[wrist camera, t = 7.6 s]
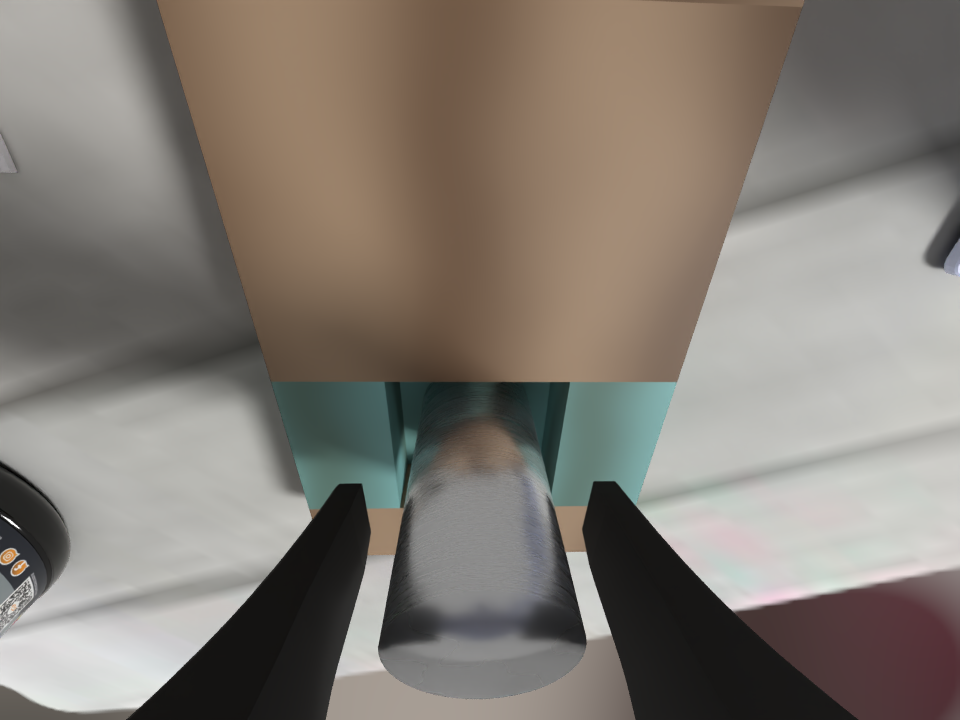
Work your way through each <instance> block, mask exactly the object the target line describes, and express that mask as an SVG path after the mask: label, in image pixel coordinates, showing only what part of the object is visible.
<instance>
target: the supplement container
mask: <svg viewBox="0 0 960 720" xmlns="http://www.w3.org/2000/svg"><path fill="white" fill-rule="evenodd" d="M69 556H70V539H69V536H68V532H67V529H66V527H65V525H64V523H63V521H62V519H61V518H60V516H59V514H58V513H57V512H56V510H55V509H54V508H53V507H52V505H51V504H50V503H49V502H48V501H47V500H46V499H45V498H44V497H43V496H42V495H41V494H40V493H39V492H38V491H36V490H35V489H34V488H33V487H31V486H30V485H29V484H28V483H26V482H25V481H23V480H22V479H20V478H19V477H17V476H16V475H14V474H13V473H11V472H9V471H8V470H6V469H4V468H3V467H1V466H0V638H1V637H2V636H3V635H4V633H5V632H6V631H7V630H8V629H9V628H10V627H11V626H12V625H13V624H14V623H15V622H16V621H17V620H18V619H19V618H20V617H21V615H22V614H23V613H24V612H25V611H26V610H27V609H28V608H29V607H30V606H31V605H32V604H33V603H34V602H35V601H36V600H37V599H38V598H40V597H41V596H42V595H43V594H45V593H46V592H47V591H48V590H49V589H50V588H51V586H52V585H53V584H54V583H55V582H56V581H57V580H58V578H59V577H60V575H61V574H62V572H63V571H64V569H65V567H66V565H67V562H68V559H69Z"/></svg>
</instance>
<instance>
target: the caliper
mask: <svg viewBox="0 0 960 720" xmlns="http://www.w3.org/2000/svg"><path fill="white" fill-rule="evenodd" d="M0 172H5V173H18V172H17V170H16V167H15V165H14V163H13V161H12V158H11V156H10V154H9V151H8V149H7V147H6V145H5V142H4V140H3V138H2V135H1V133H0Z"/></svg>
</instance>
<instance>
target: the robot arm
mask: <svg viewBox="0 0 960 720" xmlns="http://www.w3.org/2000/svg"><path fill="white" fill-rule="evenodd" d="M944 270H945V272H946V273H948V274H952V275H956V276H959V277H960V238H959V240H958V241H957V243H956V244H955V246H954V247H953V249H952V251H951V252H950V254H949V255H948V257H947V258H946V261H945V263H944ZM582 532H583V537H584V542H585V547H586V552H587V556H588V561H589V565H590V569H591V572H592V575H593V578H594V582H595V585H596V588H597V591H598V594H599V597H600V600H601V603H602V606H603V609H604V612H605V615H606V618H607V621H608V624H609V627H610V630H611V633H612V636H613V640H614V642H615V645H616V649H617V652H618V655H619V658H620V661H621V664H622V668H623V671H624V675H625V678H626V682H627V686H628V690H629V694H630V698H631V702H632V706H633V710H634V715H635V719H636V720H858V719H857V718H856V717H854V716H853V715H852V714H850V713H849V712H848V711H847V710H845V709H844V708H843V707H842V706H840V705H839V704H838V703H837V702H835V701H834V700H833V699H832V698H831V697H829V696H828V695H827V694H826V693H825V692H823V691H822V690H821V689H820V688H818V687H817V686H816V685H815V684H814V683H813V682H812V681H810V680H809V679H808V678H807V677H806V676H804V675H803V674H802V673H801V672H800V671H798V670H797V669H796V668H795V667H793V666H792V665H791V664H790V663H789V662H787V661H786V660H785V659H784V658H783V657H782V656H780V655H779V654H778V653H777V652H776V651H775V650H774V649H773V648H771V647H770V646H769V645H768V644H767V643H766V642H765V641H764V640H763V639H761V638H760V637H759V636H758V635H757V634H756V633H755V632H754V631H753V630H752V629H750V627H748V626H747V625H746V624H745V623H744V622H743V621H742V620H741V619H740V618H739V617H738V616H737V615H736V614H735V613H734V612H733V611H732V610H731V609H729V608H728V607H727V606H726V605H725V604H724V603H723V602H722V601H721V600H720V599H719V598H718V597H717V596H716V595H715V594H714V593H713V592H712V591H711V590H710V588H709V587H708V586H707V585H706V584H705V583H704V582H703V581H702V580H701V579H700V578H699V577H698V576H697V575H696V574H695V573H694V572H693V571H692V570H691V569H690V568H689V566H688V565H687V564H686V563H685V562H684V561H683V560H682V559H681V558H680V557H679V555H678V554H677V553H676V552H675V551H674V550H673V549H672V548H671V547H670V545H669V544H668V543H667V542H666V541H665V540H664V539H663V538H662V536H661V535H660V534H659V533H658V532H657V531H656V529H655V528H654V527H653V526H652V525H651V524H650V522H649V521H648V520H647V519H646V518H645V516H644V515H643V514H642V513H641V512H640V510H639V509H638V508H637V507H636V505H635V504H634V503H633V502H632V501H631V499H630V498H629V497H628V496H627V494H626V493H625V492H624V491H623V490H622V488H621V487H620V486H619V485H618V484H617V483H616V482H615V481H593V485H592V489H591V493H590V498H589V502H588V506H587V510H586V514H585V518H584V522H583V527H582ZM370 536H371V528H370V523H369V517H368V512H367V507H366V501H365V496H364V491H363V485H362V483H345V484H338V485H337V486H336V487H335V489H334V490H333V492H332V493H331V494H330V496H329V497H328V499H327V500H326V501H325V503H324V504H323V506H322V507H321V508H320V510H319V511H318V513H317V514H316V515H315V517H314V518H313V519H312V521H311V522H310V523H309V525H308V526H307V527H306V529H305V530H304V531H303V533H302V534H301V535H300V536H299V538H298V539H297V540H296V542H295V543H294V544H293V545H292V547H291V548H290V549H289V550H288V552H287V553H286V554H285V556H284V557H283V558H282V559H281V561H280V562H279V563H278V564H277V565H276V567H275V568H274V569H273V570H272V571H271V572H270V574H269V575H268V576H267V577H266V578H265V580H264V581H263V582H262V583H261V584H260V585H259V587H258V588H257V589H256V590H255V591H254V592H253V594H252V595H251V596H250V597H249V598H248V599H247V600H246V602H245V603H244V604H243V605H242V606H241V607H240V608H239V609H238V610H237V611H236V613H235V614H234V615H233V616H232V617H231V618H230V619H229V620H228V621H227V622H226V623H225V624H224V625H223V626H222V628H221V629H220V630H219V631H218V632H217V633H216V634H215V635H214V636H213V637H212V638H211V639H210V640H209V641H208V642H207V643H206V644H205V645H204V646H203V647H202V648H201V649H200V650H199V651H198V652H197V653H196V654H195V655H194V656H193V657H192V658H191V659H190V660H189V661H188V662H187V663H186V664H185V665H184V666H183V667H182V668H181V669H180V670H179V671H178V672H177V673H176V674H175V675H174V676H173V677H172V678H171V679H170V680H169V681H168V682H167V683H166V684H164V685H163V686H162V687H161V688H160V689H159V690H158V691H157V692H156V693H155V694H154V695H153V696H152V697H151V698H150V699H149V700H147V701H146V702H145V703H144V704H143V705H142V706H141V707H140V708H139V709H138V710H136V711H135V712H134V713H133V714H132V715H131V716H130V717H129V718H128V719H126V720H326V715H327V710H328V705H329V700H330V695H331V690H332V686H333V682H334V678H335V674H336V670H337V666H338V663H339V659H340V656H341V652H342V649H343V645H344V642H345V638H346V635H347V631H348V628H349V624H350V621H351V617H352V614H353V610H354V607H355V603H356V600H357V596H358V593H359V589H360V585H361V582H362V578H363V575H364V571H365V565H366V560H367V554H368V548H369V542H370Z"/></svg>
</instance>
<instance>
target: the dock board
mask: <svg viewBox="0 0 960 720" xmlns="http://www.w3.org/2000/svg"><path fill="white" fill-rule="evenodd" d="M804 1H805V0H157V4H158V7H159V10H160V14H161V17H162V20H163V24H164V27H165V30H166V34H167V37H168V40H169V44H170V47H171V50H172V54H173V57H174V60H175V64H176V67H177V70H178V74H179V77H180V80H181V84H182V87H183V90H184V94H185V97H186V100H187V104H188V107H189V110H190V114H191V117H192V120H193V124H194V127H195V130H196V134H197V137H198V140H199V144H200V147H201V150H202V153H203V157H204V160H205V163H206V167H207V170H208V173H209V177H210V180H211V183H212V187H213V190H214V193H215V197H216V200H217V203H218V207H219V210H220V213H221V217H222V220H223V223H224V227H225V230H226V233H227V237H228V240H229V243H230V247H231V250H232V253H233V257H234V260H235V263H236V267H237V270H238V273H239V277H240V280H241V283H242V287H243V290H244V293H245V297H246V300H247V303H248V307H249V310H250V313H251V317H252V320H253V323H254V327H255V330H256V333H257V337H258V340H259V343H260V347H261V350H262V353H263V357H264V360H265V363H266V367H267V370H268V373H269V377H270V380H271V383H272V387H273V390H274V393H275V397H276V400H277V403H278V407H279V410H280V413H281V417H282V420H283V423H284V427H285V430H286V433H287V437H288V440H289V443H290V447H291V450H292V453H293V456H294V460H295V463H296V466H297V470H298V473H299V476H300V480H301V483H302V486H303V490H304V493H305V496H306V500H307V503H308V506H309V510H310V513H311V516H312V519H313V518H314V517H315V515H316V514H317V513H318V511H319V510H320V508H321V507H322V506H323V504H324V503H325V501H326V500H327V499H328V497H329V496H330V494H331V493H332V492H333V490H334V489H335V487H336V486H337V485H338V484H345V483H362V485H363V491H364V496H365V501H366V507H367V512H368V517H369V523H370V528H371V536H370V542H369V548H368V554H367V555H395V553H396V547H397V542H398V536H399V531H400V525H401V520H402V515H403V509H404V504H405V498H406V493H407V487H408V482H409V476H410V471H411V465H412V460H413V454H414V449H415V443H416V438H417V432H418V427H419V421H420V416H421V411H422V405H423V400H424V395H425V393H426V390H427V388H428V387H429V385H430V384H431V382H521V384H522V385H523V387H524V389H525V391H526V393H527V397H528V401H529V405H530V409H531V413H532V417H533V421H534V425H535V429H536V433H537V438H538V442H539V446H540V450H541V454H542V458H543V462H544V466H545V470H546V474H547V479H548V483H549V487H550V491H551V495H552V499H553V503H554V507H555V511H556V515H557V520H558V524H559V528H560V532H561V536H562V540H563V544H564V548H565V552H586V547H585V542H584V537H583V532H582V527H583V522H584V518H585V514H586V510H587V506H588V502H589V498H590V493H591V489H592V485H593V481H615V482H616V483H617V484H618V485H619V486H620V487H621V488H622V490H623V491H624V492H625V493H626V494H627V496H628V497H629V498H630V499H631V501H632V502H633V503H634V504H635V505H636V503H637V500H638V497H639V494H640V491H641V488H642V485H643V482H644V479H645V476H646V473H647V470H648V467H649V464H650V461H651V458H652V455H653V452H654V449H655V446H656V443H657V440H658V437H659V434H660V431H661V428H662V425H663V422H664V419H665V416H666V413H667V410H668V407H669V404H670V401H671V398H672V395H673V392H674V389H675V386H676V383H677V380H678V377H679V374H680V371H681V368H682V365H683V362H684V359H685V356H686V353H687V350H688V347H689V344H690V342H691V339H692V336H693V333H694V330H695V327H696V324H697V321H698V318H699V315H700V312H701V309H702V306H703V303H704V300H705V297H706V294H707V291H708V288H709V285H710V282H711V279H712V276H713V273H714V270H715V267H716V264H717V261H718V258H719V255H720V252H721V249H722V246H723V243H724V240H725V237H726V234H727V231H728V228H729V225H730V222H731V219H732V216H733V213H734V210H735V207H736V204H737V201H738V198H739V195H740V192H741V189H742V186H743V183H744V180H745V177H746V174H747V171H748V168H749V165H750V162H751V159H752V156H753V153H754V150H755V147H756V144H757V141H758V138H759V135H760V132H761V129H762V126H763V123H764V120H765V117H766V114H767V111H768V109H769V106H770V103H771V100H772V97H773V94H774V91H775V88H776V85H777V82H778V79H779V76H780V73H781V70H782V67H783V64H784V61H785V58H786V55H787V52H788V49H789V46H790V43H791V40H792V37H793V34H794V31H795V28H796V25H797V22H798V19H799V16H800V13H801V10H802V7H803V4H804Z"/></svg>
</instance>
